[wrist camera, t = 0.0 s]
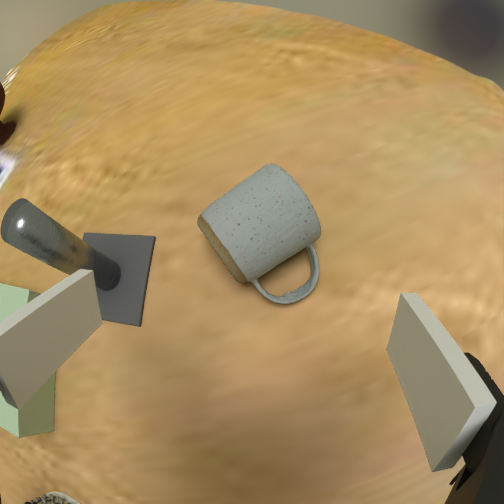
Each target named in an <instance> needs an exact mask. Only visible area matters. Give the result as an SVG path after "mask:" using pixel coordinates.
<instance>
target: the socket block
mask: <svg viewBox="0 0 504 504" xmlns="http://www.w3.org/2000/svg"><path fill="white" fill-rule="evenodd" d="M39 295H40V294H39V293H36V292H34V291H31V290H28V289H23V288H19V287H14V286H10V285H6V284H2V283H0V322H1V321H3V320H4V319H5V318H7V317H8V316H10V315H11V314H13V313H14V312H15V311H17V310H18V309H20V308H21V307H23V306H24V305H26V304H27V303H29V302H30V301H32V300H33V299H34V298H36V297H37V296H39ZM55 378H56V371H55V372H54V373H53V374H52V376H51V377H50V378H49V379H48V380H47V381H46V382H45V383H44V384H43V385H42V386H41V387H40V388H39V389H38V390H37V392H36V393H35V394H34V395H33V396H32V397H31V398H30V399H29V400H28V401H27V402H26V403H25V405H24V406H23V407H22V408H21V409H20V410H18V409H16V408H15V407H13V406H11V405H9V404H8V403H6V401H5V399H4V397H3V395H2V393H1V391H0V426H1V427H2V428H4V429H5V430H7V431H9V432H10V433H12V434H13V435H15V436H17V437H18V438H21V437H27V436H32V435H37V434H42V433H47V432H51V431H54V396H55Z"/></svg>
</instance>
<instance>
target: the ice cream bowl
mask: <svg viewBox="0 0 504 504" xmlns="http://www.w3.org/2000/svg"><path fill="white" fill-rule="evenodd" d="M4 101H5V92H4V88H3V86H2V84H1V83H0V114H1V112H2V109H3V106H4ZM15 127H16V123H15V122H14V121H10V122H7V123H6V124H3V123H2V122H1V121H0V145H1V144H3V143H4V142H5V141H6V140H7V139H9V137H10V136H11V134H12V133H13V132H14V130H15Z"/></svg>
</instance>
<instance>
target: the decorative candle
mask: <svg viewBox="0 0 504 504" xmlns="http://www.w3.org/2000/svg"><path fill="white" fill-rule="evenodd" d="M42 496H43V497H42V498H40V497H38V498H37V497H35V502H34V501H33V500H31V501H30V502H25V504H80V503H79V502H78V501H77V500H76V499H74V498H72V497H71V496H69V495H67V494H66V493H62V492H58V491H53V492H50V493H47V494H46V495H45V494H43V495H42Z"/></svg>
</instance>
